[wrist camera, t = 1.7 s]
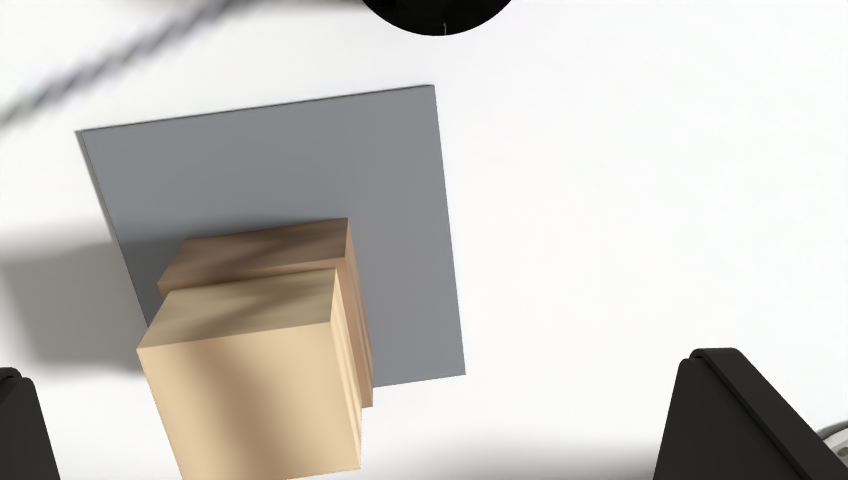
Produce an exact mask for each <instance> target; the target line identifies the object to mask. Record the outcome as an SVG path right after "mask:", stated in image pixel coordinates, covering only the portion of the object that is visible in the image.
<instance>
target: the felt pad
mask: <svg viewBox="0 0 848 480" xmlns="http://www.w3.org/2000/svg"><path fill="white" fill-rule="evenodd" d="M81 135H82V137H83V140H84V143H85V146H86V149H87V152H88V155H89V158H90V161H91V163H92V166H93V169H94V172H95V175H96V178H97V181H98V184H99V187H100V190H101V192H102V195H103V198H104V201H105V204H106V207H107V210H108V213H109V216H110V218H111V221H112V224H113V227H114V230H115V233H116V236H117V239H118V242H119V245H120V247H121V250H122V253H123V256H124V259H125V262H126V265H127V268H128V271H129V273H130V276H131V279H132V282H133V285H134V288H135V291H136V294H137V297H138V300H139V302H140V305H141V308H142V311H143V314H144V317H145V320H146V323H147V326H148V328H149V326H150V324H151V323H152V321H153V319H154V318H155V316H156V314H157V312H158V311H159V309H160V307H161V306H162V304H163V299H162V296H161V293H160V290H159V287H158V284H157V282H158V281H159V279H160V278H161V276H162V275H163V273H164V271H165V270H166V268H167V267H168V265H169V264H170V262H171V261H172V259H173V258H174V256H175V254H176V253H177V251H178V250H179V248H180V247H181V245H182V244H183V242H184V241H185V240H188V239H196V238H203V237H211V236H218V235H225V234H233V233H240V232H247V231H255V230H262V229H269V228H277V227H284V226H292V225H299V224H306V223H314V222H321V221H328V220H336V219H343V218H348V219H349V225H350V230H351V236H352V242H353V247H354V253H355V258H356V264H357V270H358V275H359V281H360V286H361V292H362V298H363V303H364V309H365V314H366V320H367V326H368V331H369V337H370V342H371V348H372V354H373V388H374V387H381V386H388V385H396V384H403V383H410V382H417V381H424V380H431V379H438V378H445V377H452V376H459V375H466V373H465V364H464V355H463V345H462V336H461V327H460V318H459V308H458V299H457V290H456V281H455V271H454V262H453V253H452V244H451V234H450V225H449V216H448V207H447V197H446V188H445V179H444V170H443V160H442V151H441V142H440V133H439V124H438V114H437V105H436V96H435V87H434V85H429V86H421V87H414V88H406V89H398V90H391V91H383V92H376V93H368V94H361V95H353V96H345V97H338V98H330V99H323V100H315V101H307V102H300V103H292V104H285V105H277V106H270V107H262V108H254V109H247V110H239V111H232V112H224V113H216V114H209V115H201V116H194V117H186V118H179V119H171V120H163V121H156V122H148V123H141V124H133V125H126V126H118V127H110V128H103V129H95V130H88V131H83V132H82V133H81Z"/></svg>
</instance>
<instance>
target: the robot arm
mask: <svg viewBox="0 0 848 480" xmlns="http://www.w3.org/2000/svg"><path fill="white" fill-rule="evenodd" d="M0 480H60V476H59V472H58V469H57V465H56V462H55V458H54V454H53V451H52V447H51V443H50V440H49V436H48V433H47V429H46V425H45V422H44V418H43V414H42V411H41V407H40V404H39V400H38V396H37V393H36V389H35V386H34V384H33V381H32V380H31V379H30V378H26V377H24V378H22V376H21V374H20V372H19V371H18V370H17V369H15V368H12V367H3V368H0ZM653 480H848V428H846V429H844V430H842V431H839V432H837V433H835V434H833V435H831V436H830V437H828V438H826V439H825V440H822V439H821V438H820V437H819V436H818V435H817V434H816V433H815V432H814V431H813V430H812V429H811V427H810V426H809V425H808V424H807V423H806V422H805V421H804V420H803V419H802V418H801V417H800V416H799V414H798V413H797V412H796V411H795V410H794V409H793V408H792V407H791V406H790V405H789V404H788V403H787V401H786V400H785V399H784V398H783V397H782V396H781V395H780V394H779V393H778V392H777V391H776V390H775V389H774V387H773V386H772V385H771V384H770V383H769V382H768V381H767V380H766V379H765V378H764V377H763V376H762V374H761V373H760V372H759V371H758V370H757V369H756V368H755V367H754V366H753V365H752V364H751V363H750V361H749V360H748V359H747V358H746V357H745V356H744V355H743V354H742V353H741V352H740V351H739V350H737V349H735V348H700V349H695V350H693V352H692V353H691V354H690V357H689V358H688V359H683V360H682V361H681V362H680V364H679V367H678V371H677V376H676V380H675V385H674V389H673V393H672V398H671V402H670V407H669V411H668V415H667V420H666V424H665V429H664V433H663V437H662V442H661V446H660V451H659V455H658V459H657V464H656V468H655V473H654V477H653Z"/></svg>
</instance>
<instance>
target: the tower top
mask: <svg viewBox="0 0 848 480" xmlns="http://www.w3.org/2000/svg"><path fill="white" fill-rule="evenodd" d="M136 351H137V354H138V356H139V359H140V362H141V365H142V367H143V370H144V373H145V376H146V379H147V381H148V384H149V387H150V390H151V392H152V395H153V398H154V401H155V404H156V406H157V409H158V412H159V415H160V417H161V420H162V423H163V426H164V428H165V431H166V434H167V437H168V440H169V442H170V445H171V448H172V451H173V453H174V456H175V459H176V462H177V465H178V467H179V470H180V473H181V476H182V478H183V480H287V479H294V478H301V477H308V476H315V475H322V474H329V473H336V472H343V471H350V470H357V469H360V467H361V420H362V398H361V393H360V388H359V383H358V378H357V372H356V367H355V362H354V357H353V352H352V347H351V341H350V336H349V331H348V326H347V321H346V316H345V310H344V305H343V300H342V295H341V290H340V285H339V280H338V274H337V269H336V268H331V269H323V270H316V271H309V272H301V273H294V274H287V275H280V276H272V277H265V278H258V279H250V280H243V281H236V282H229V283H221V284H214V285H207V286H199V287H192V288H185V289H178V290H171V291H170V292H169V294H168V296H167V297H166V299H165V301H164V302H163V304H162V306H161V307H160V309H159V311H158V312H157V314H156V316H155V318H154V319H153V321H152V323H151V324H150V326H149V328H148V329H147V331H146V333H145V334H144V336H143V338H142V339H141V341H140V343H139V344H138V346H137V348H136Z"/></svg>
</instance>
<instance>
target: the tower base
mask: <svg viewBox="0 0 848 480" xmlns="http://www.w3.org/2000/svg"><path fill="white" fill-rule="evenodd" d="M331 268H336V269H337V274H338V280H339V285H340V290H341V295H342V300H343V305H344V310H345V316H346V321H347V326H348V331H349V336H350V341H351V347H352V352H353V357H354V362H355V367H356V372H357V378H358V383H359V388H360V393H361V398H362V408H366V407H373V354H372V348H371V342H370V337H369V331H368V326H367V320H366V314H365V309H364V303H363V298H362V292H361V286H360V281H359V275H358V270H357V264H356V258H355V253H354V247H353V242H352V236H351V230H350V225H349V219H348V218H343V219H336V220H328V221H321V222H314V223H306V224H299V225H292V226H284V227H277V228H269V229H262V230H255V231H247V232H240V233H233V234H225V235H218V236H211V237H203V238H196V239H188V240H185V241H184V242H183V244H182V245H181V247H180V248H179V250H178V251H177V253H176V254H175V256H174V258H173V259H172V261H171V262H170V264H169V265H168V267H167V268H166V270H165V271H164V273H163V275H162V276H161V278H160V279H159V281H158V282H157V284H158V287H159V290H160V293H161V296H162V299H163V302H164V301H165V299H166V297H167V296H168V294H169V292H170V291H171V290H178V289H185V288H192V287H199V286H207V285H214V284H221V283H229V282H236V281H243V280H250V279H258V278H265V277H272V276H280V275H287V274H294V273H301V272H309V271H316V270H323V269H331Z"/></svg>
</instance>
